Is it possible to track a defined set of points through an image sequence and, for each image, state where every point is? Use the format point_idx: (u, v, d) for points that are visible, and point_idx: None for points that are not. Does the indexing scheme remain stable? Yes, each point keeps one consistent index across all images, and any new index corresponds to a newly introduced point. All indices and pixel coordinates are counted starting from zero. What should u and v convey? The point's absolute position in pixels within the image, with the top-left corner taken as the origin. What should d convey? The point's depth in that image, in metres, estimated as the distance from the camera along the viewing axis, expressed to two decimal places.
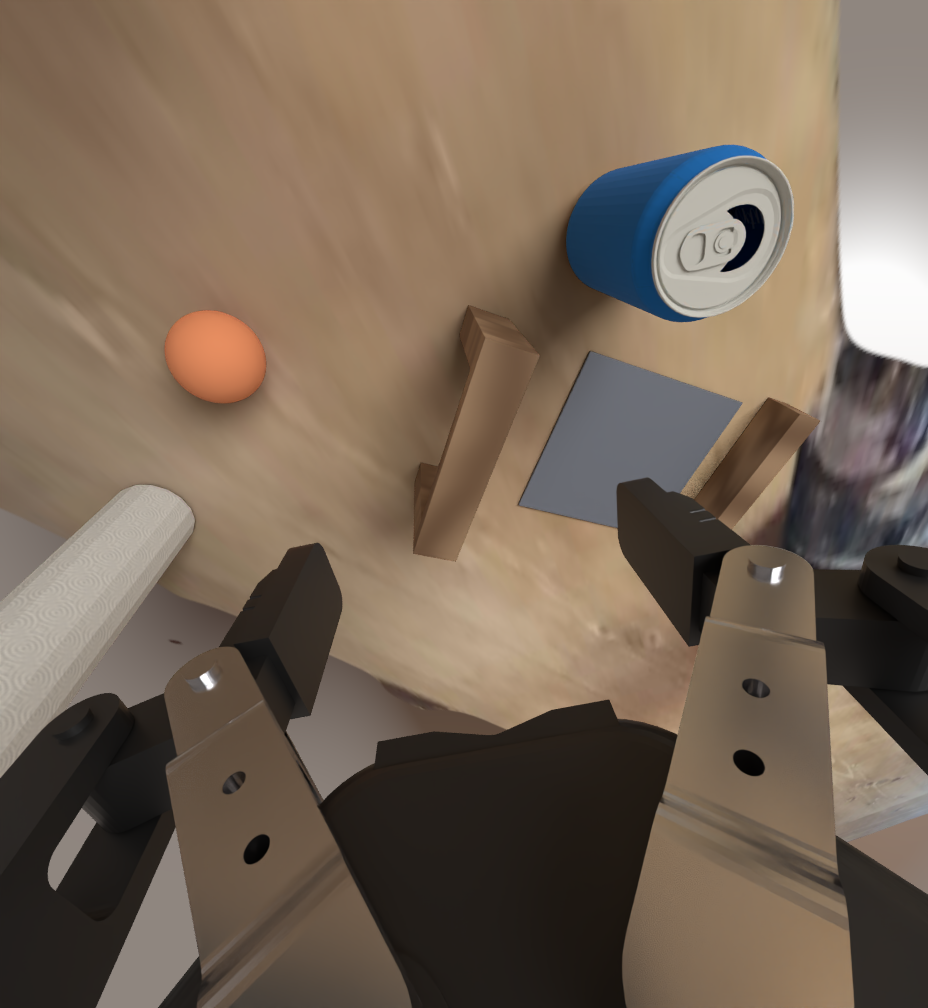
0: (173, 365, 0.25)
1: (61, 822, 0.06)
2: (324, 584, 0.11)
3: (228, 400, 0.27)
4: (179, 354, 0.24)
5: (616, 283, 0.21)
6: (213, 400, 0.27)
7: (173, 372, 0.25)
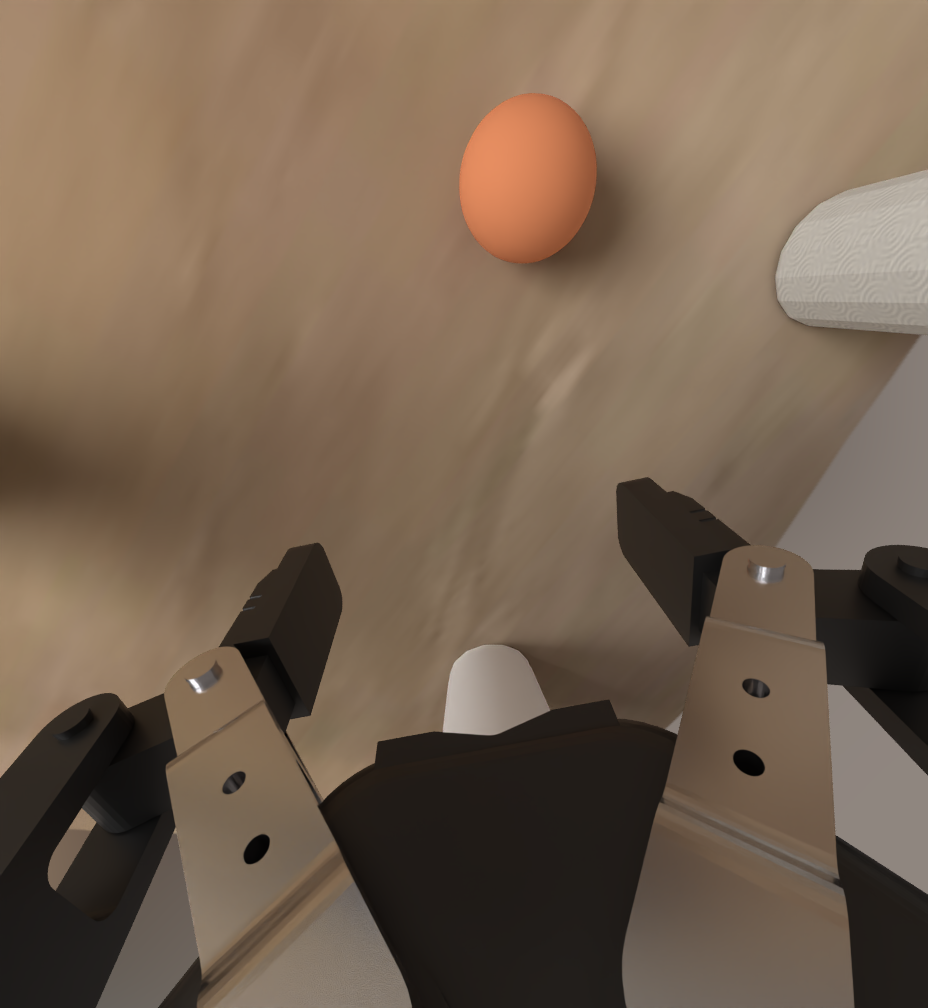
0: (549, 221, 0.16)
1: (61, 822, 0.06)
2: (324, 584, 0.11)
3: (582, 125, 0.15)
4: (528, 212, 0.16)
5: None
6: (589, 150, 0.16)
7: (562, 222, 0.16)
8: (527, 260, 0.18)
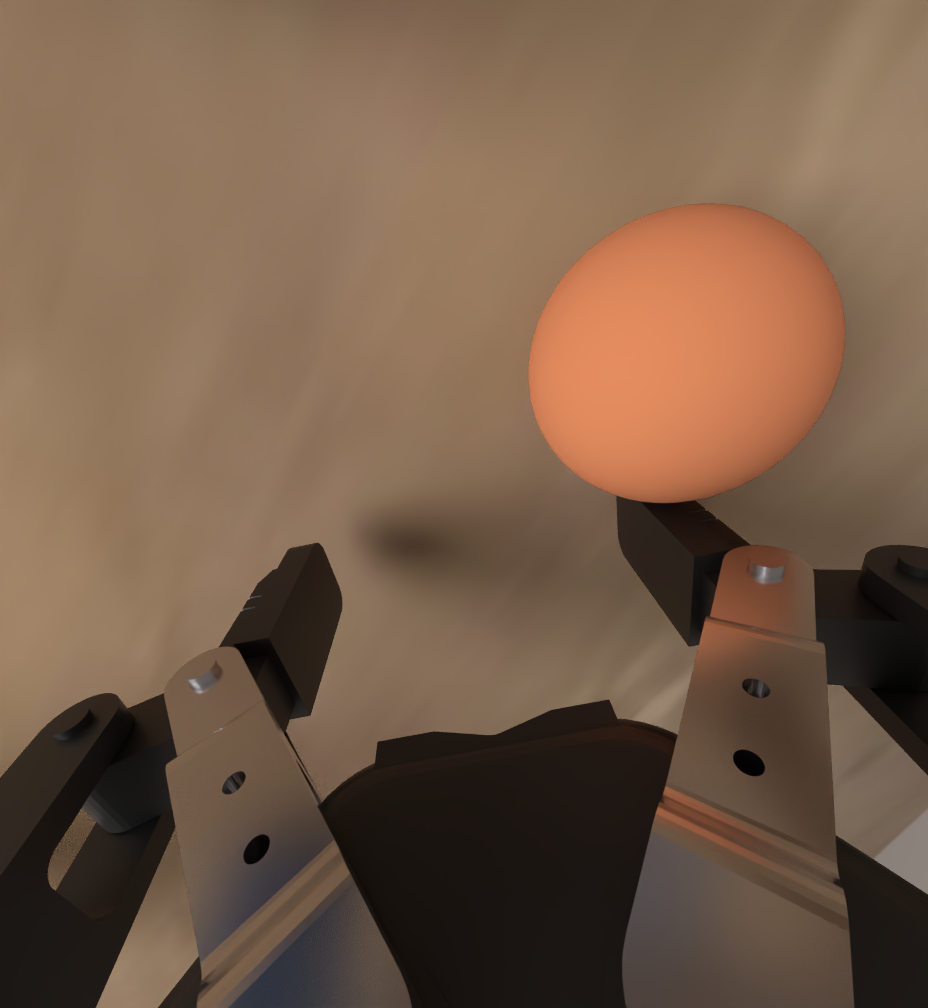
0: (778, 250, 0.06)
1: (61, 822, 0.06)
2: (324, 584, 0.11)
3: None
4: (712, 238, 0.06)
5: None
6: None
7: (808, 258, 0.06)
8: (762, 392, 0.06)
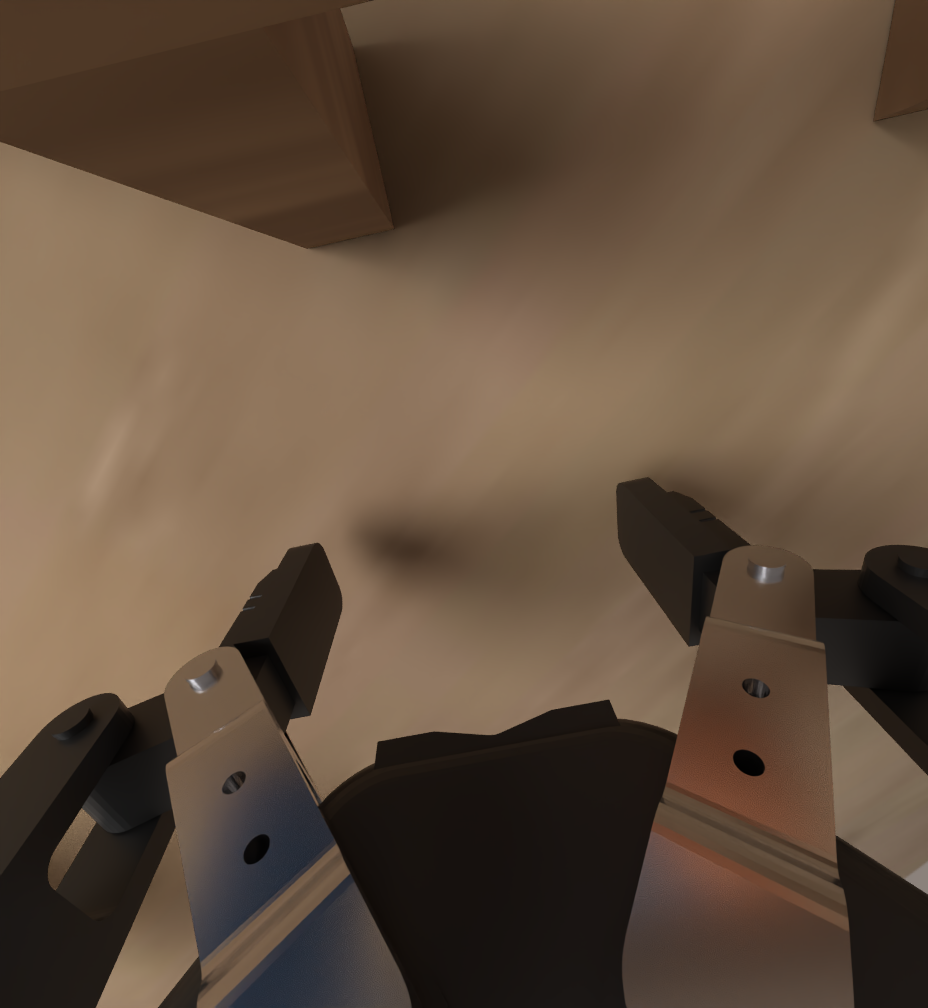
0: None
1: (61, 822, 0.06)
2: (324, 584, 0.11)
3: None
4: None
5: None
6: None
7: None
8: None
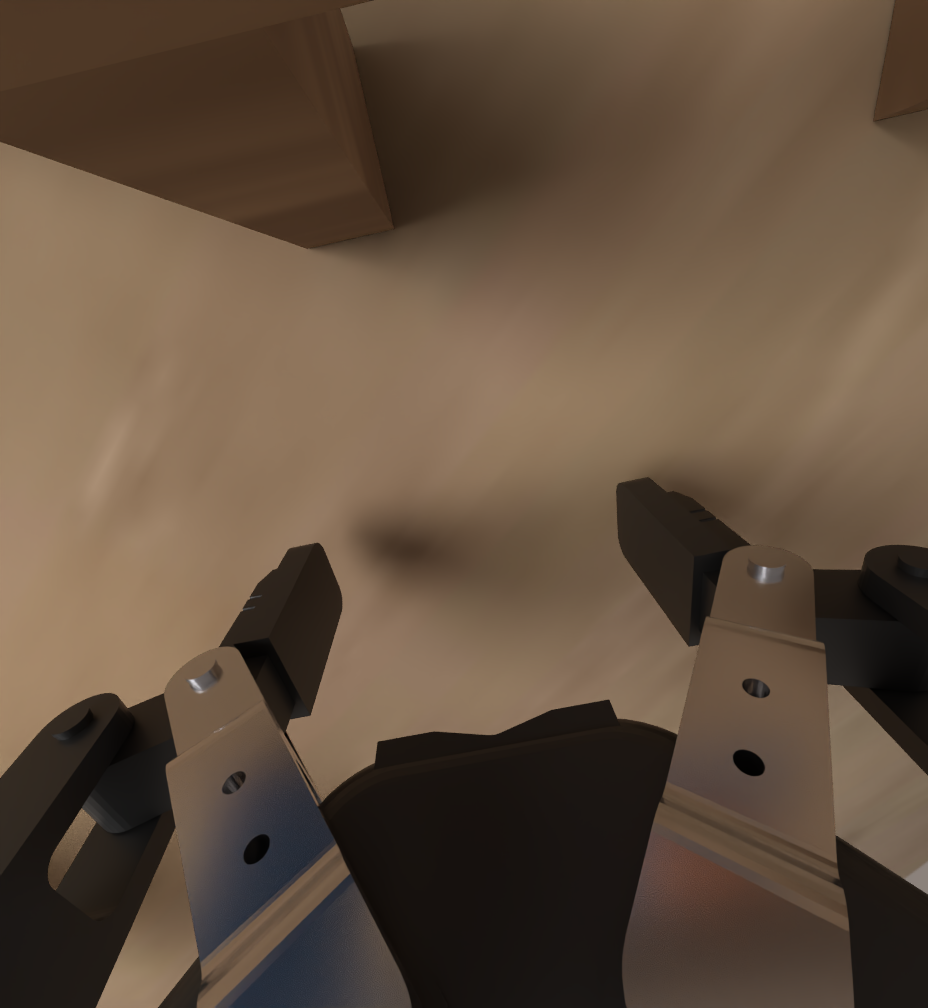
0: None
1: (61, 822, 0.06)
2: (324, 584, 0.11)
3: None
4: None
5: None
6: None
7: None
8: None
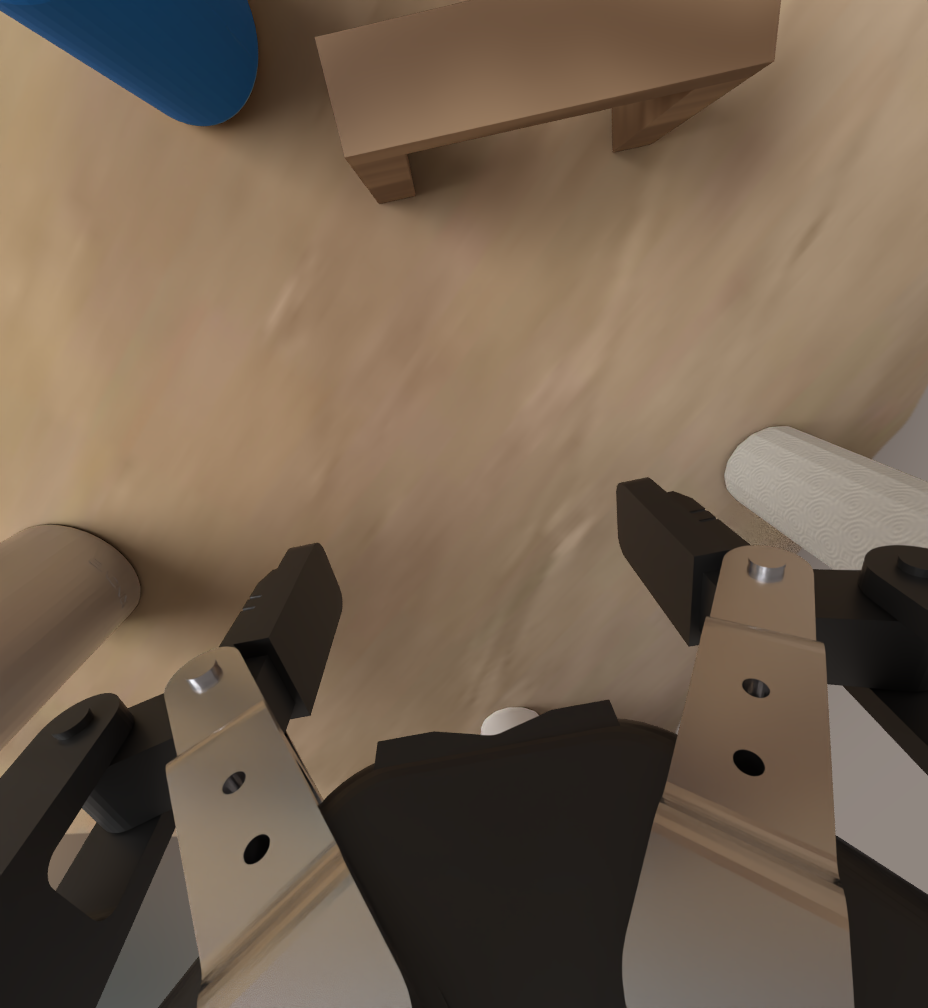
0: None
1: (61, 822, 0.06)
2: (324, 584, 0.11)
3: None
4: None
5: None
6: None
7: None
8: None
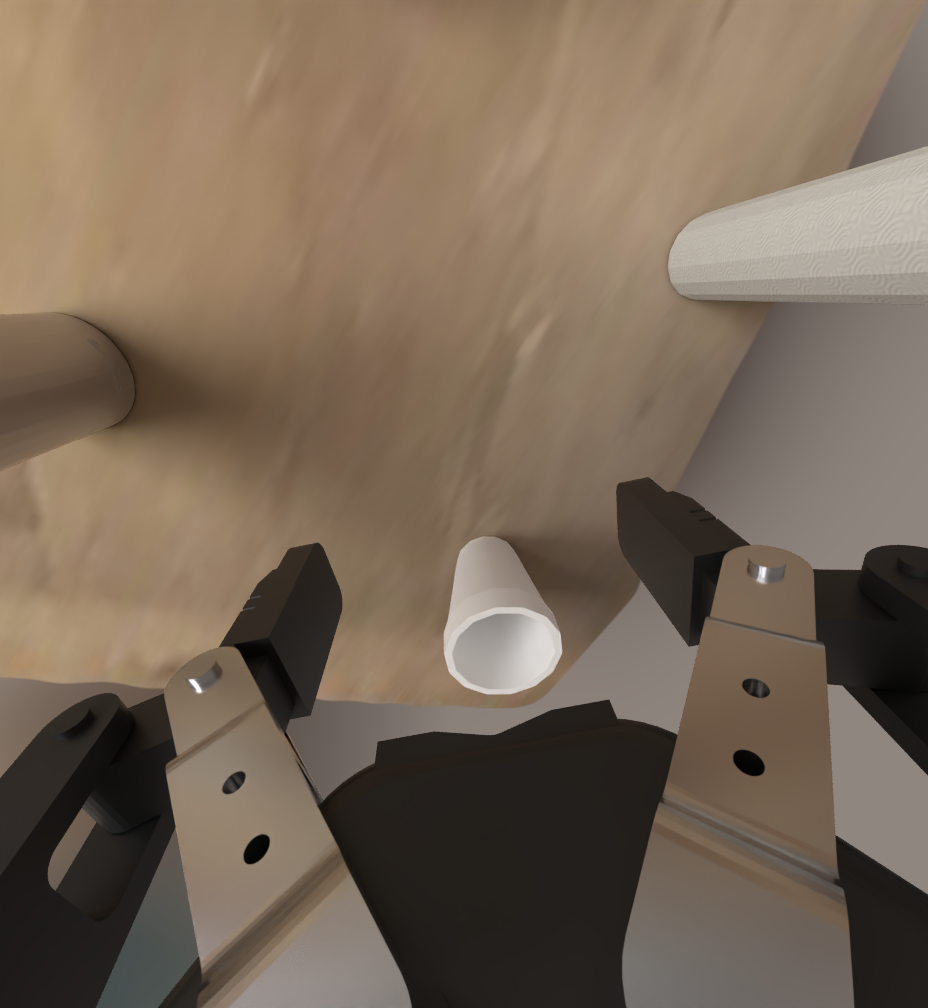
0: None
1: (61, 822, 0.06)
2: (325, 584, 0.11)
3: None
4: None
5: None
6: None
7: None
8: None
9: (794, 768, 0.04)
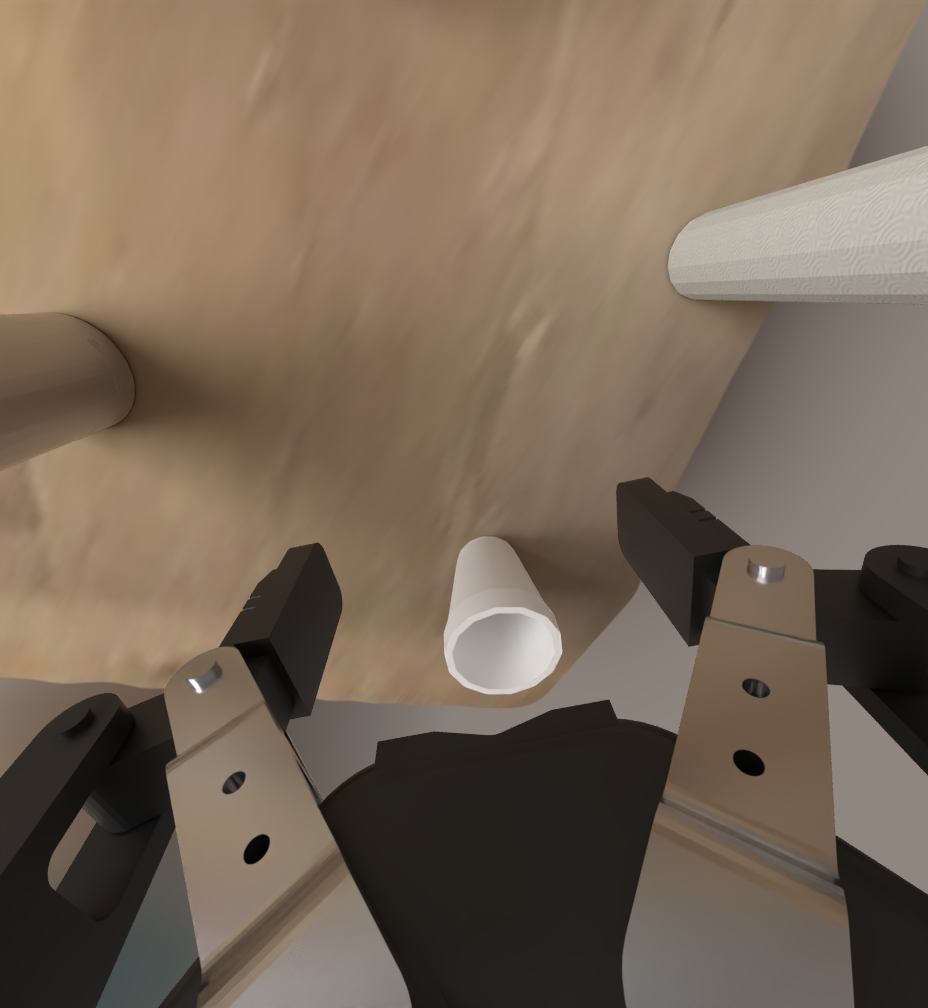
0: None
1: (61, 822, 0.06)
2: (324, 584, 0.11)
3: None
4: None
5: None
6: None
7: None
8: None
9: (794, 768, 0.04)
